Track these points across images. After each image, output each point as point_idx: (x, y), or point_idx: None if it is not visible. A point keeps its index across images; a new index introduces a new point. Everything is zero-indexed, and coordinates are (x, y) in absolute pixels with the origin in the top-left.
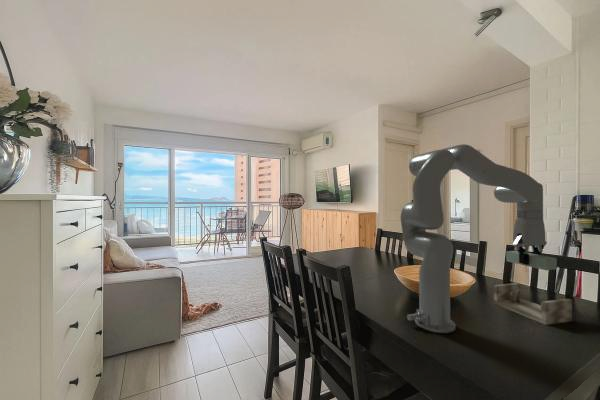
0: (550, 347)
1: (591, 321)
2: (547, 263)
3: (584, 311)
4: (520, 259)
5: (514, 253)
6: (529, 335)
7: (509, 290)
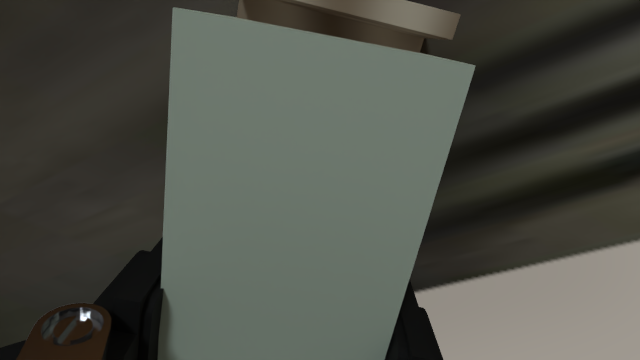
0: (48, 295)
1: (422, 284)
2: None
3: (537, 238)
4: (133, 266)
5: (170, 183)
6: (62, 234)
7: (342, 14)
